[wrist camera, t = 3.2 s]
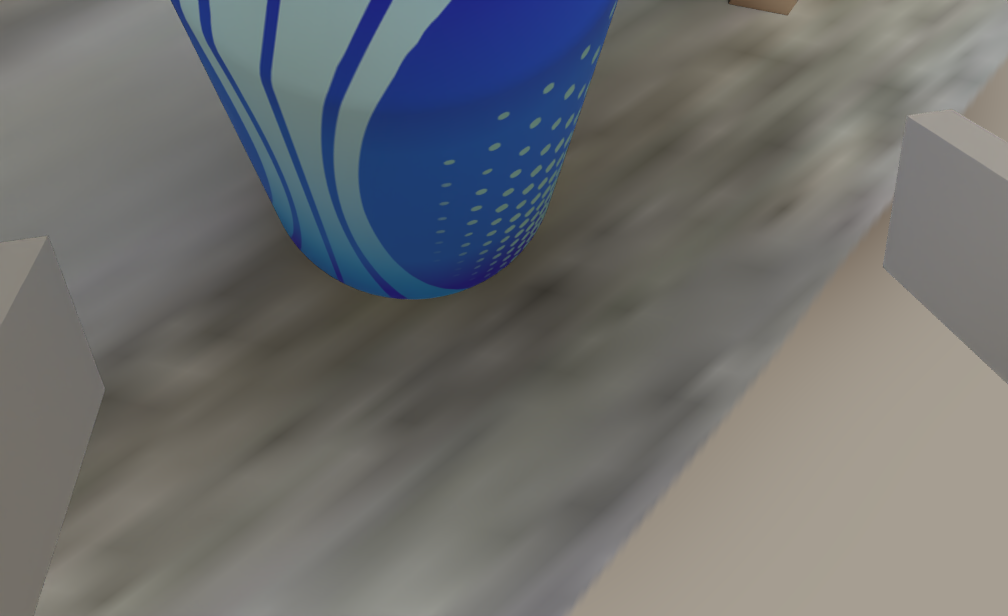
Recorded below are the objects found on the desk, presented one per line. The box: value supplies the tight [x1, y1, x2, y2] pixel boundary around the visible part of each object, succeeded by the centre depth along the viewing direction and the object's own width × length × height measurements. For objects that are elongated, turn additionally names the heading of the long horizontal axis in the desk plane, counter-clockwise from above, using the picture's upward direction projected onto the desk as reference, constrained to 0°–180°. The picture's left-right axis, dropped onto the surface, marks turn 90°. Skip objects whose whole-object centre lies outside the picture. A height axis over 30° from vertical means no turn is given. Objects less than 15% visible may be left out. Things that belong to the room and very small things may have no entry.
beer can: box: [171, 0, 618, 300], centre depth 21 cm, size 8×8×16 cm
